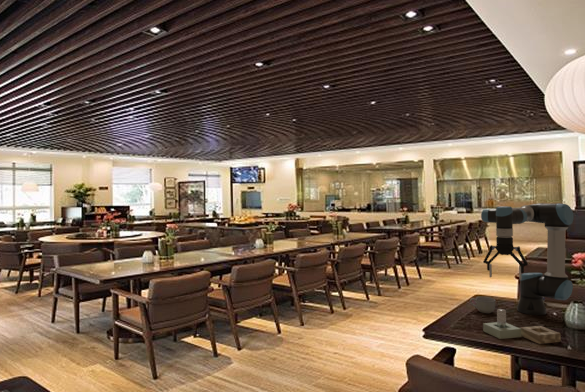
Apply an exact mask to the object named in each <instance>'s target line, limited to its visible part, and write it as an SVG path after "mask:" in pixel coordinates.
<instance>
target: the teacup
mask: <svg viewBox="0 0 585 392" xmlns="http://www.w3.org/2000/svg"><path fill="white" fill-rule="evenodd" d="M472 301H474V302H475V304H474V303H473V302H472ZM469 303H470V305H471V306H473V307H474V308H475V309H477V310H478V311H479V312H480V313H482V314H492V313H493V312H495V310H496V299H494V297H493V298H492V297H489V296H476V297H475V298H474V297H471V298H470V300H469Z"/></svg>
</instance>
